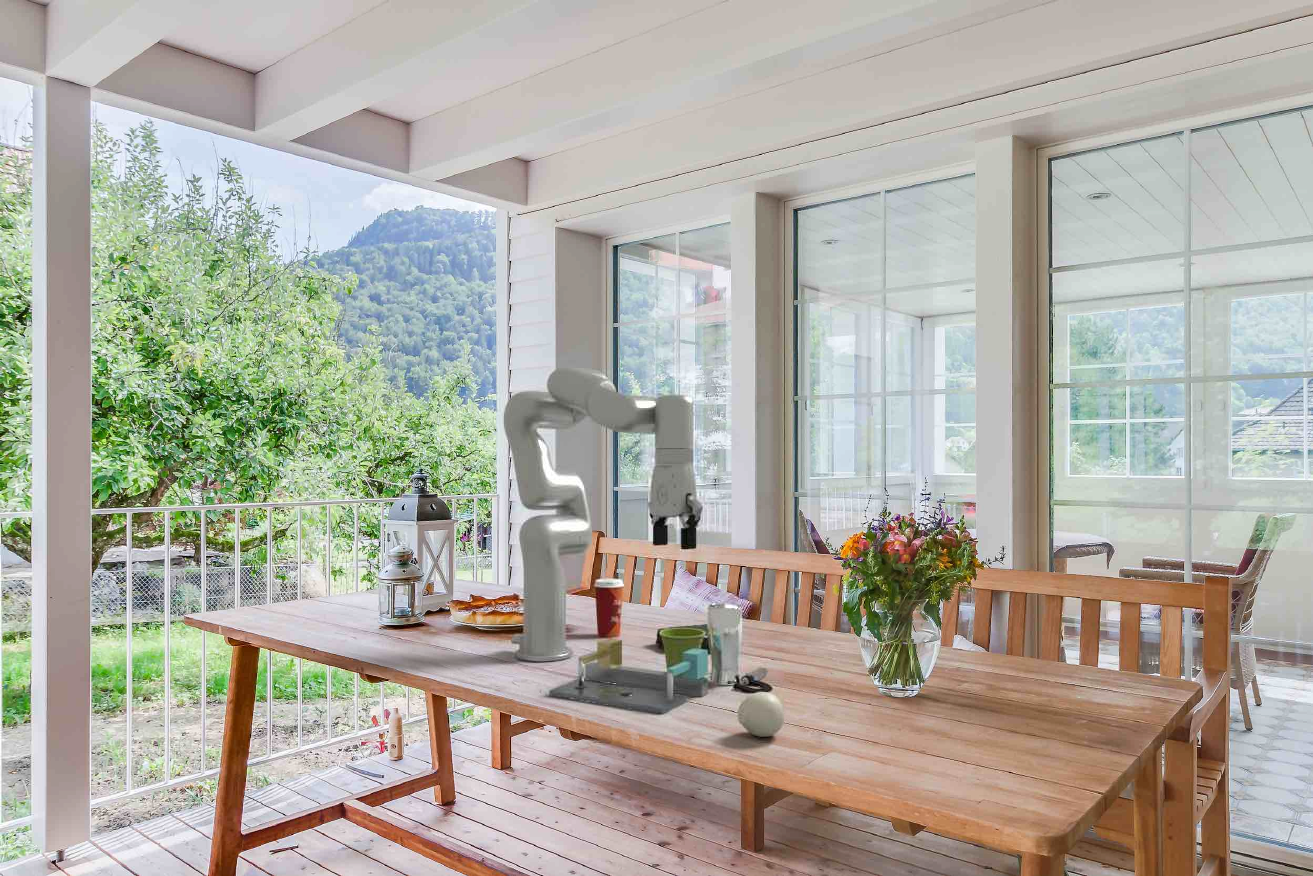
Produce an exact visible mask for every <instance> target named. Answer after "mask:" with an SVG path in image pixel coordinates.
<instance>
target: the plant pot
mask: <svg viewBox="0 0 1313 876" xmlns="http://www.w3.org/2000/svg"><path fill="white" fill-rule="evenodd" d="M659 634H660V636H661V637H662V642H663V645H664V648H663V651H664V658H665V663H666V670H667V669H668V668H671V667H673V666H675V665H678V664H680V663H682V662H683V653H684V652H686V651H688V650H691V649H693V648H694V649H701V643H702V641H703V636H704V635H705V632H704V631H702V630H699V629H692V628H672V629H666V630H662V631H660V632H659ZM680 674H683V672H682V673H680Z"/></svg>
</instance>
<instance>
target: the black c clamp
mask: <svg viewBox="0 0 1313 876" xmlns="http://www.w3.org/2000/svg"><path fill="white" fill-rule="evenodd" d="M767 674H768V669H767V667H766V668H765V667H764V668H763V667H759V668H756V669H755V670H753V671H751V672H746V673H744V675H743V676H742V677H741V678H740V682H738V683H736V684H734V685H732V688H733V689H734V690H739V691H741V692H744V693H746V692H747V693H746V694H753V693H756V692H767V693H771V692H772V691H773V690H774V689H773V686H772V685H770V684H769V683H767V682H763V681H761V680H762V679H763V677H764V678H765V677H766V676H767ZM744 684H746V685H744ZM750 684H751V685H750ZM750 686H755V687H758V686H760V687H759V688H755V687H750ZM761 687H762V688H761Z"/></svg>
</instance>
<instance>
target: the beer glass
mask: <svg viewBox="0 0 1313 876" xmlns="http://www.w3.org/2000/svg"><path fill="white" fill-rule="evenodd" d="M707 606H708V607H707V619H706V620H707V623H706V624H707V634H708V642H709V648H710V653H711V654H710V659H711V661H710V662H711V670H710V675H709V682H710V684H712V685H715V686H724V687H725V686H727V685H730V686H733V685H734V684H736V683H738V682H741V678H740V677H741V676H740V671H739V657H740V652H741V651H740V650H741V644H742V637H743V615H742V614H743V613H742V605H741V604H739V603H738V604H737V603H731V602H727V603H726V602H722V603H721V602H716V603H711V604H709V605H707Z"/></svg>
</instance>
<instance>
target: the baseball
mask: <svg viewBox="0 0 1313 876" xmlns="http://www.w3.org/2000/svg"><path fill="white" fill-rule="evenodd" d="M784 711H785V710H784V707H783V704H782V702H781V701H780V699H779V698H778V696H776V695H774V694H773V693H771V692H767V693H766V692H756V693H750V695H747V696H746V697H745V699H744V700H742V702H741V703H740V705H739V707H738V709H737V720H738V722H739V724H740V725H741V726H742V727H743V728H744V729H745V730H746V731H747V732H748V733H750V734H751V735H753V736H755V737H760V738H767V737H771V736H774V735H776V734H777V733H778V732H779V731H780V730H781V729H782V727H783V724H784V721H785V712H784Z"/></svg>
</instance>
